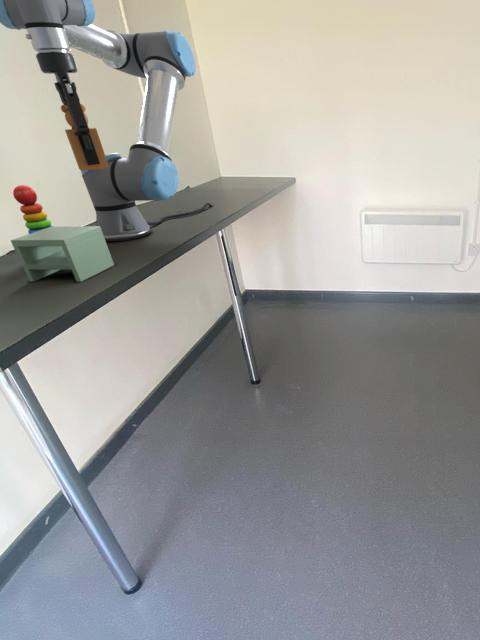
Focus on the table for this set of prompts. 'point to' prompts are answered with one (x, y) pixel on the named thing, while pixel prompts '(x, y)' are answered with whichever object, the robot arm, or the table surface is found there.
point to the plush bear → (77, 146)
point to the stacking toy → (31, 209)
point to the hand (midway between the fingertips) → (92, 163)
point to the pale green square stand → (63, 252)
